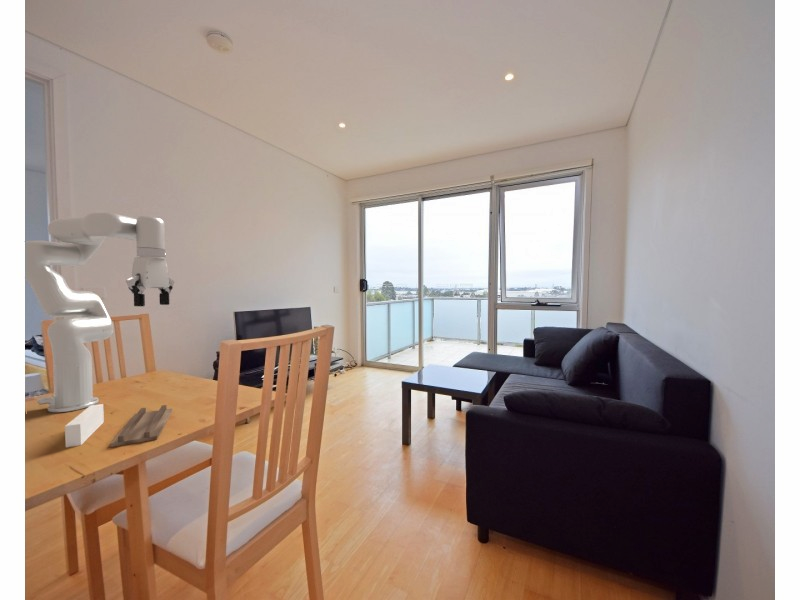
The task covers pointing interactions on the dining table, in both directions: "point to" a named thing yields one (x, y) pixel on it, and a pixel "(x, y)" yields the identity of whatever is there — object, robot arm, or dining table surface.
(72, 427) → the white strip
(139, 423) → the walnut rack
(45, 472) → the dining table surface
